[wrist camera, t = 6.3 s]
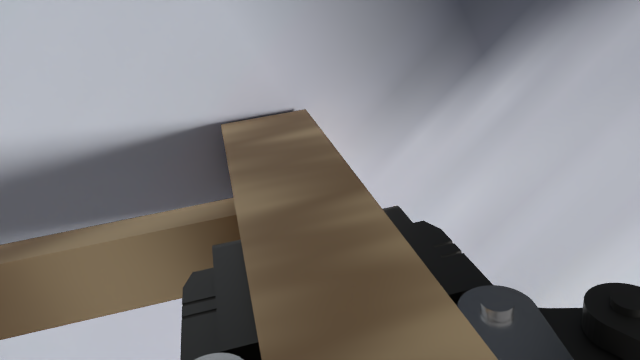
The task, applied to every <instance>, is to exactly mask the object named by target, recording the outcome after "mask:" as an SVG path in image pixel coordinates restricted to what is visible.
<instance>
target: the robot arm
mask: <svg viewBox="0 0 640 360" xmlns="http://www.w3.org/2000/svg"><path fill="white" fill-rule="evenodd" d="M383 211H384V212H385V213H386V215H387V216H388V217H389V218H390V220H391V221H392V222H393V224H394V225H395V226H396V228H397V229H398V230H399V231H400V233H401V234H402V235H403V237H404V238H405V239H406V241H407V242H408V243H409V244H410V246H411V247H412V248H413V250H414V251H415V252H416V254H417V255H418V256H419V257H420V259H421V260H422V261H423V263H424V264H425V265H426V267H427V268H428V269H429V270H430V272H431V273H432V274H433V276H434V277H435V278H436V280H437V281H438V282H439V284H440V285H441V286H442V287H443V289H444V290H445V291H446V293H447V294H448V295H449V297H450V298H451V299H452V300H453V302H454V303H455V304H456V306H457V307H458V308H459V310H460V311H461V312H462V313H463V315H464V316H465V317H466V319H467V320H468V321H469V323H470V324H471V325H472V326H473V328H474V329H475V330H476V332H477V333H478V334H479V336H480V337H481V338H482V339H483V341H484V342H485V343H486V345H487V346H488V347H489V349H490V350H491V351H492V352H493V354H494V355H495V356H496V358H497V359H498V360H640V287H639V286H635V285H630V284H625V283H605V284H600V285H597V286H594V287H592V288H591V289H589V290H588V291H587V292H586V294H585V296H584V303H583V308H538V307H537V306H536V305H535V303H534V302H533V301H532V300H531V299H530V298H529V297H528V296H526V295H525V294H523V293H521V292H519V291H517V290H515V289H512V288H508V287H504V286H496V285H493V284H492V283H491V282H490V281H489V280H488V279H487V278H486V277H485V276H484V275H483V274H482V273H481V272H480V270H479V269H478V268H477V267H476V266H475V265H474V264H473V263H472V262H471V261H470V260H469V259H468V258H467V257H466V255H465V254H464V253H463V254H462V253H461V250H460V249H459V248H458V247H457V246H456V245H455V244H453V243H452V240H451V239H450V238H449V237H448V236H447V235H446V234H445V233H444V232H443V231H442V230H441V229H440V228H437V227H435V226H433V225H431V224H429V223H427V222H425V221H420V222H416V223H413V222H412V221H411V220H410V219H409V218H408V217H407V215H406V214H405V213H404V212H403V211H402V209H401V208H400V207H399V206H393V207H389V208H384V209H383ZM212 254H213V268H209V269H204V270H200V271H196V272H192V274H191V275H190V277H189V279H188V280H187V282H186V283H185V285H184V287H183V294H182V305H183V307H182V329H181V360H262V359H261V353H260V347H259V342H258V336H257V330H256V324H255V319H254V313H253V307H252V301H251V296H250V290H249V284H248V278H247V272H246V267H245V261H244V255H243V249H242V244H241V239H240V240H236V241H231V242H226V243H222V244H217V245H213V246H212Z"/></svg>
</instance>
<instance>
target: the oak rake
mask: <svg viewBox="0 0 640 360" xmlns="http://www.w3.org/2000/svg"><path fill="white" fill-rule="evenodd" d="M221 128H222V134H223V140H224V146H225V151H226V157H227V163H228V169H229V175H230V180H231V186H232V192H233V198H229V199H224V200H219V201H214V202H209V203H204V204H199V205H195V206H190V207H185V208H180V209H175V210H170V211H165V212H160V213H155V214H150V215H145V216H140V217H135V218H130V219H126V220H121V221H116V222H111V223H106V224H101V225H96V226H91V227H86V228H81V229H76V230H71V231H66V232H61V233H57V234H52V235H47V236H42V237H37V238H32V239H27V240H22V241H17V242H12V243H7V244H2V245H0V340H2V339H6V338H11V337H15V336H19V335H24V334H28V333H32V332H37V331H41V330H45V329H50V328H54V327H58V326H63V325H67V324H71V323H76V322H80V321H85V320H89V319H93V318H98V317H102V316H106V315H111V314H115V313H119V312H124V311H128V310H132V309H137V308H141V307H145V306H150V305H154V304H158V303H163V302H167V301H171V300H176V299H180V298H182V294H183V287H184V285H185V283H186V282H187V280H188V279H189V277H190V275H191V274H192V272H196V271H200V270H204V269H209V268H213V254H212V246H213V245H217V244H222V243H226V242H231V241H236V240H240V239H241V244H242V249H243V255H244V261H245V267H246V272H247V278H248V284H249V290H250V296H251V301H252V307H253V313H254V319H255V324H256V330H257V336H258V342H259V347H260V353H261V359H262V360H498V359H497V358H496V356H495V355H494V354H493V352H492V351H491V350H490V349H489V347H488V346H487V345H486V343H485V342H484V341H483V339H482V338H481V337H480V336H479V334H478V333H477V332H476V330H475V329H474V328H473V326H472V325H471V324H470V323H469V321H468V320H467V319H466V317H465V316H464V315H463V313H462V312H461V311H460V310H459V308H458V307H457V306H456V304H455V303H454V302H453V300H452V299H451V298H450V297H449V295H448V294H447V293H446V291H445V290H444V289H443V287H442V286H441V285H440V284H439V282H438V281H437V280H436V278H435V277H434V276H433V274H432V273H431V272H430V270H429V269H428V268H427V267H426V265H425V264H424V263H423V261H422V260H421V259H420V257H419V256H418V255H417V254H416V252H415V251H414V250H413V248H412V247H411V246H410V244H409V243H408V242H407V241H406V239H405V238H404V237H403V235H402V234H401V233H400V231H399V230H398V229H397V228H396V226H395V225H394V224H393V222H392V221H391V220H390V218H389V217H388V216H387V215H386V213H385V212H384V211H383V209H382V208H381V207H380V205H379V204H378V203H377V202H376V200H375V199H374V198H373V196H372V195H371V194H370V192H369V191H368V190H367V189H366V187H365V186H364V185H363V183H362V182H361V181H360V179H359V178H358V177H357V176H356V174H355V173H354V172H353V170H352V169H351V168H350V166H349V165H348V164H347V163H346V161H345V160H344V159H343V157H342V156H341V155H340V153H339V152H338V151H337V150H336V148H335V147H334V146H333V144H332V143H331V142H330V140H329V139H328V138H327V137H326V135H325V134H324V133H323V131H322V130H321V129H320V127H319V126H318V125H317V124H316V122H315V121H314V120H313V118H312V117H311V116H310V114H309V113H308V112H307V111H306V109H304V110H299V111H293V112H288V113H282V114H277V115H271V116H265V117H260V118H254V119H249V120H243V121H238V122H232V123H226V124H221Z"/></svg>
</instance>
